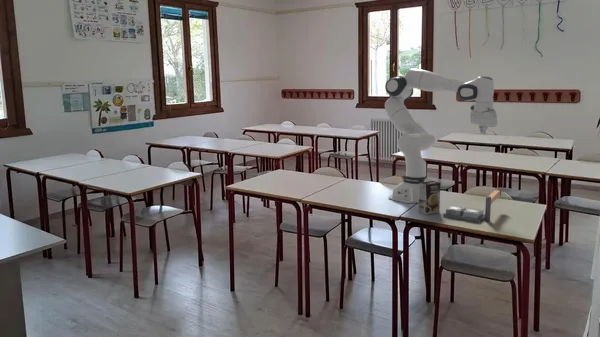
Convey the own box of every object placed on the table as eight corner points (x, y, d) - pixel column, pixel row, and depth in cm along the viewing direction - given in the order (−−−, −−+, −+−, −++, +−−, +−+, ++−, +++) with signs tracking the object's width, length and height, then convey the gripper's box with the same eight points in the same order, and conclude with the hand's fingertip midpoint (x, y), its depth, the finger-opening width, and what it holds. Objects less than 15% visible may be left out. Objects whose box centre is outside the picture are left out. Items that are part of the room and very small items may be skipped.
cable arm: (490, 221, 247) (491, 198, 244) (483, 220, 248) (484, 197, 246) (500, 209, 266) (502, 187, 264) (494, 208, 268) (495, 186, 266)
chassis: (443, 216, 257) (443, 208, 257) (451, 211, 265) (451, 204, 264) (478, 222, 246) (479, 214, 246) (485, 217, 254) (486, 209, 253)
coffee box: (426, 215, 260) (427, 184, 257) (418, 212, 266) (418, 182, 263) (440, 212, 264) (441, 182, 261) (431, 209, 270) (432, 180, 267)
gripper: (501, 108, 255) (499, 136, 258) (479, 105, 275) (478, 131, 278) (489, 109, 254) (488, 136, 257) (468, 106, 274) (467, 131, 277)
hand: (482, 133), depth 268 cm, fingers closed
